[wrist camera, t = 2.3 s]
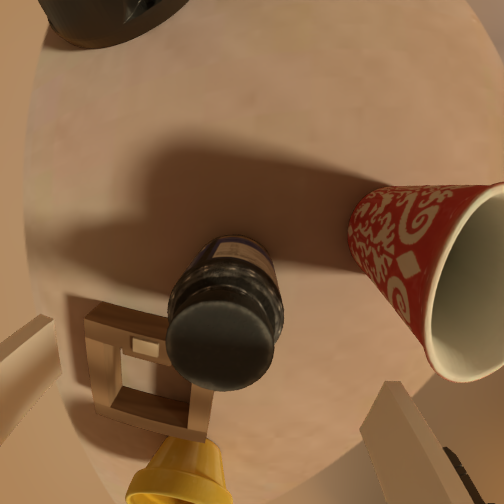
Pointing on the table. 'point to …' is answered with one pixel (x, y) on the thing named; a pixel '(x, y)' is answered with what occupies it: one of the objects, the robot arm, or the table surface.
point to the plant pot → (181, 475)
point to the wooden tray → (147, 348)
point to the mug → (439, 269)
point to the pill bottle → (225, 315)
